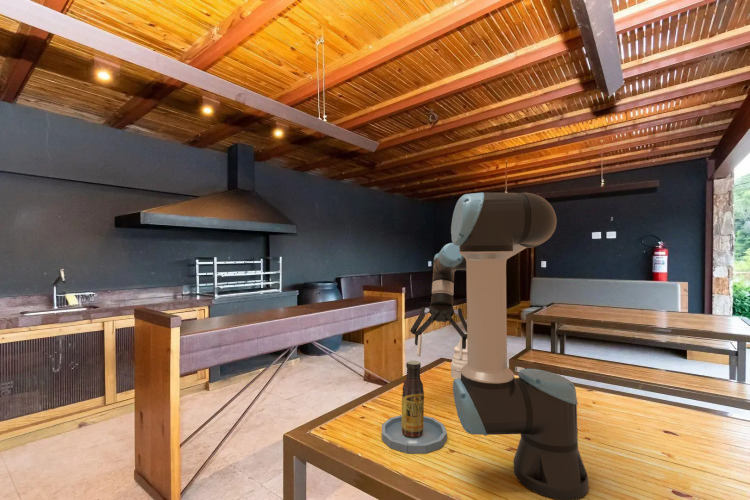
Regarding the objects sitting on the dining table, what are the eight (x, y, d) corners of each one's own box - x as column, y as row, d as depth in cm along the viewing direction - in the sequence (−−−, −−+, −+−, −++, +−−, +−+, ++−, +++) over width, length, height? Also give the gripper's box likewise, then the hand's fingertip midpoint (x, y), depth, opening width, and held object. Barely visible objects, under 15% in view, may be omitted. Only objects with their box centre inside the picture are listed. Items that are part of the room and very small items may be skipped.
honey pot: (462, 369, 156) (461, 329, 157) (488, 376, 147) (487, 334, 147) (444, 376, 148) (444, 333, 148) (470, 384, 138) (469, 338, 139)
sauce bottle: (406, 440, 94) (405, 366, 94) (398, 429, 100) (397, 360, 100) (428, 436, 96) (427, 364, 96) (419, 426, 102) (418, 358, 102)
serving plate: (451, 453, 89) (451, 445, 89) (381, 453, 89) (381, 445, 89) (440, 421, 107) (440, 414, 107) (381, 421, 107) (381, 414, 107)
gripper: (479, 299, 120) (479, 362, 111) (410, 297, 129) (404, 356, 120) (478, 292, 114) (478, 358, 105) (405, 290, 122) (399, 352, 113)
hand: (439, 357), depth 112 cm, fingers open, 13 cm apart
